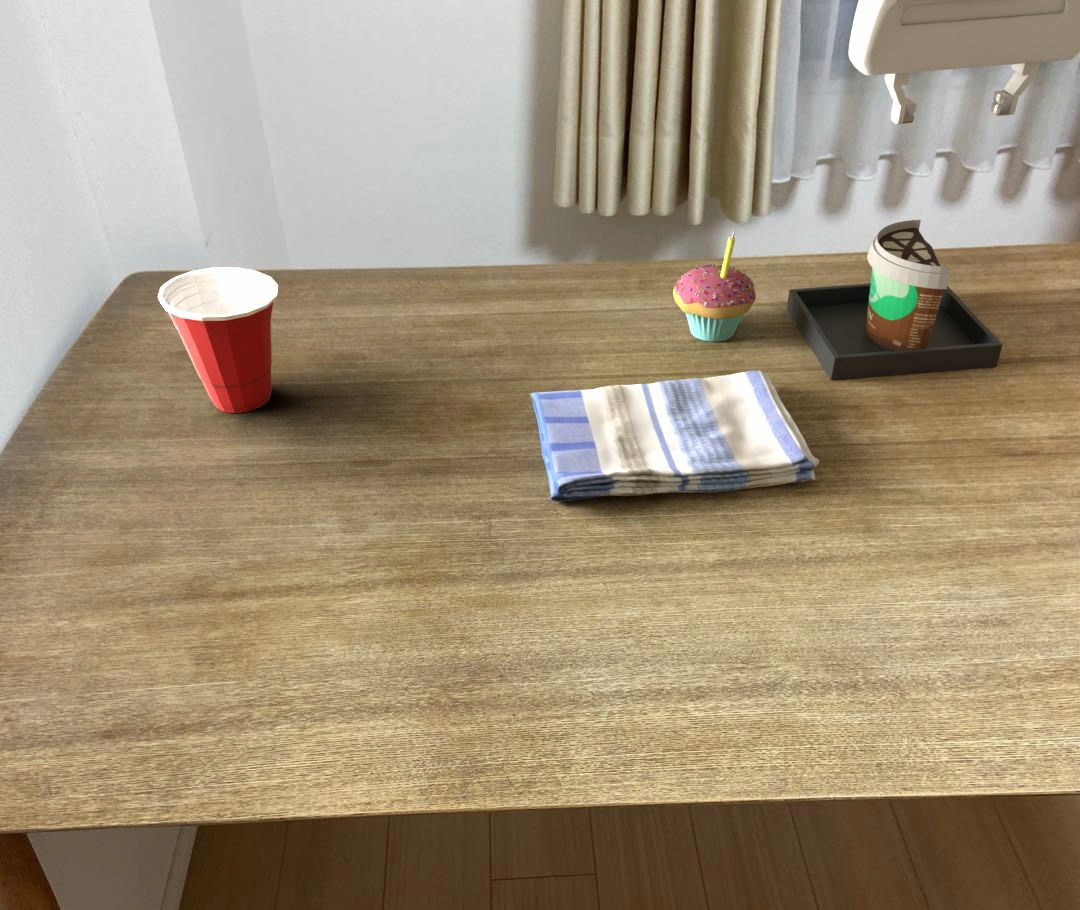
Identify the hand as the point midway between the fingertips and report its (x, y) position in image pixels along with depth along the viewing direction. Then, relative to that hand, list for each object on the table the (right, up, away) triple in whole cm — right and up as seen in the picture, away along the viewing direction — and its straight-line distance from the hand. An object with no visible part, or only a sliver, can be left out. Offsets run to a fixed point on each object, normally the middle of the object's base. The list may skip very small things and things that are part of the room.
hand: (951, 117), depth 93 cm
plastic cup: (-67, -24, +9) cm, 72 cm away
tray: (-1, -17, +15) cm, 23 cm away
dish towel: (-26, -30, +1) cm, 39 cm away
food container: (-1, -17, +15) cm, 23 cm away
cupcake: (-19, -16, +17) cm, 30 cm away
